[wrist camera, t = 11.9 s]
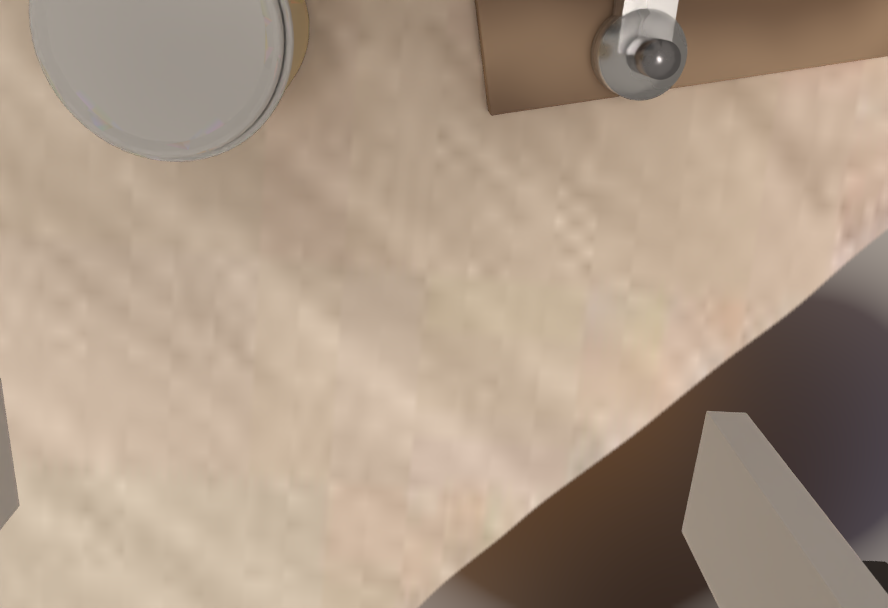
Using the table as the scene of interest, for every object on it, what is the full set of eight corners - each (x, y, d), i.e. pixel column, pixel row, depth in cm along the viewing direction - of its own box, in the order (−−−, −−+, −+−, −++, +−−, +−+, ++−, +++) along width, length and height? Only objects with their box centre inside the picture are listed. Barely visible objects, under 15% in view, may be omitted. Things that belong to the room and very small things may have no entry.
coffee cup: (126, 96, 40) (13, 135, 29) (143, -105, 37) (24, -148, 26) (309, 137, 41) (268, 190, 30) (342, -55, 38) (309, -77, 27)
